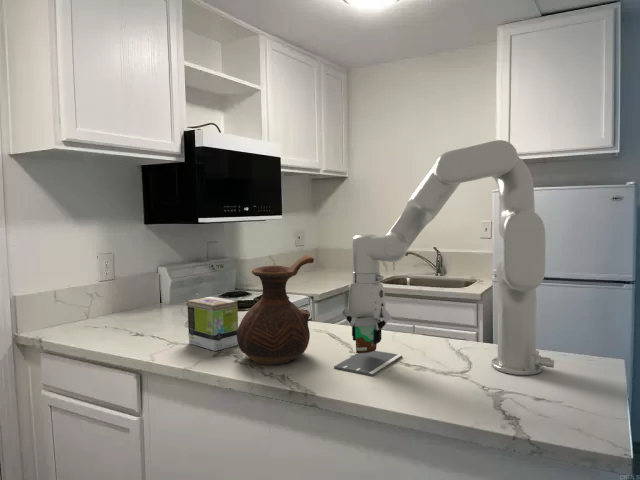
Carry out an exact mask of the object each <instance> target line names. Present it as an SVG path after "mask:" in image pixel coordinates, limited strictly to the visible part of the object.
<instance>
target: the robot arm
mask: <svg viewBox="0 0 640 480" xmlns="http://www.w3.org/2000/svg"><path fill="white" fill-rule="evenodd" d="M491 177H492V178H493V179H494V181H495V183H496V184H497V188H498V199H499V201H498V202H499V205H498V207H499V211H498V213H499V214H498V232H499V235H500V237H501V238H502V240H503V253H502V254H501V256H500V257H499V258H498V260H497V264H496V272H495V273H496V285H497V286H496V287H497V357H495V358H493V359H492V360H491V367H492V368H493V369H495V370H497V371H499V372H501V373H505V374H509V375H516V376H530V375H537V374H539V373H541V372H543V367H547V368H553V369H554V368H555V360H554V359H551V357H547V356H546V357H544V356H542V355H540V350H537V310H538V309H537V288H539V287H540V285H542V282H543V281H544V278H545V274H546V229H545V224H544V221H543V219H542V218H541V216H540V215H539V214H538V213H537V212H535V211H536V210H535V190H534V189H535V188H534V181H533V180H534V179H533V176H532V174H531V171H530V169H529V167H528V166H527V164H526V163H525V162H524V160H523V159H522V158H520V156H518V151H517V149H516V148H515V146H514V145H513V144H512V143H511V142H509V141H508V140H507V141H506V140H502V139H496V140H492V141H491V140H490V141H487V142H485V143H480V144H475V145H471V146H468V147H462V148H457V149H453V150H448V151H446V152H444V153H441V155H439V156H438V158H437V160H436V161H435V163H434V164H433V166H432V167H431V169H430V170H429V172H428V173H427V174H426V176H425V177H424V178H423V180H422V181H421V182H420V184H419V185H418V187H417V188H416V189H415V191H414V192H413V193H412V195H411V196H410V198H409V199H408V201H407V202H406V203H407V204H406V206H405V207H404V209H403V211H402V213H401V214H400V216H399V217H398V219H397V220H396V222H395V223H394V224H393V225H392V227H391V228H390V230H389V231H387V233H386V235H381V236H377V235H376V234H368V233H367V234H356V235H354V236H353V238H352V243H351V244H352V282H351V283H350V287H349V292H348V303H347V306H345V308H344V309H343V310H342V312H341V313H342V315H343V316H344V317H345V318H346V320H347V321H348V323H349V326H351V337H352V341H354V342H356V337H355V318H358V317H360V318H370V317H373V318H374V319H375V320H379V321H380V322H379V323H378V322H377V321H376V322H377V324H375V330H374V342H373V343H374V344H377V345H378V344H379V343H381V340H382V329H383V328H384V327H385V326H386V325H387V324H388V323H389V322H390V321H391V320H392V319H393V318H392V316H391V314H390V313H389V312H388V311H387V306H386V296H385V290H384V285H383V283H382V282H381V281H384V279H385V278H384V275H381V272H380V262H381V261H382V262H388V263H397V262H399V261H401V260H403V259H404V258H405V255H406V253H407V251H408V249H409V248H410V247H411V246H412V245H413V243H414V241H415V240H416V238H418V236H419V235H420V234H421V233H422V231H423V230H424V229H425V228H426V226H427V225H429V224H430V223H431V222H432V221H433V220H434V219H436V216H438V214H439V213H440V212H441V210H442V209H443V208H444V207H445V205H446V203H447V202H448V201H449V200H450V198H451V197H452V195H453V194H454V192H455V191H456V190H457V188H458V187H459V186H460V185H461V184H462V183H467V182H468V183H469V182H472V181H476V180H482V179H486V178H487V179H488V178H491ZM380 282H381V283H380ZM381 318H383V319H381Z"/></svg>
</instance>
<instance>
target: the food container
mask: <svg viewBox="0 0 640 480" xmlns="http://www.w3.org/2000/svg"><path fill="white" fill-rule="evenodd" d="M376 321H377V322H378V323H379V322H380V321H379V320H375V319H374V318H373V317H370V318H360V317H358V318H355V337H356V340H355V353H356V354H358V353H369V352H373V351H377V345H378V343H377V344H374V343H373V342H374V330H375V324H377V322H376Z"/></svg>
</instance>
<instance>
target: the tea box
mask: <svg viewBox="0 0 640 480" xmlns="http://www.w3.org/2000/svg"><path fill="white" fill-rule="evenodd" d="M238 309H239V308H238V300H234V299H227V298H224V297H223V298H222V297H216V296H207V297H201V298H194V299H189V300H187V324H188V325H187V327H188V343H189V344H191V345H194V346H196V347H197V346H198V347H201V348H204V349H207V350H211V351H213V352H216V351H217V352H218V351H221V350H225V349H228V348H232V347H236V346H238V342H237V331H238V327H239V315H238V314H239V313H238Z"/></svg>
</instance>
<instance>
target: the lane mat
mask: <svg viewBox="0 0 640 480" xmlns="http://www.w3.org/2000/svg"><path fill="white" fill-rule="evenodd" d="M402 358H403V354H398V353H393V352H392V353H391V352H386V351H385V352H384V351H381V350H375V351H373V352H369V353H356V354H354V355H353V356H351V357H349V358H346V359H344V360H343V361H341V362H339V363H338V364H336V365H334V366H333V369H335V370H340V371H344V372H350V373H354V374H355V373H356V374H358V375H359V374H360V375H365V376H369V377H374V376H376V375H378V373H380V372H382V371H383V370H385V369H386V368H388V367H389V366H391V365H393V364H394V363H396V362H397V361H398V360H400V359H402Z"/></svg>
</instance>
